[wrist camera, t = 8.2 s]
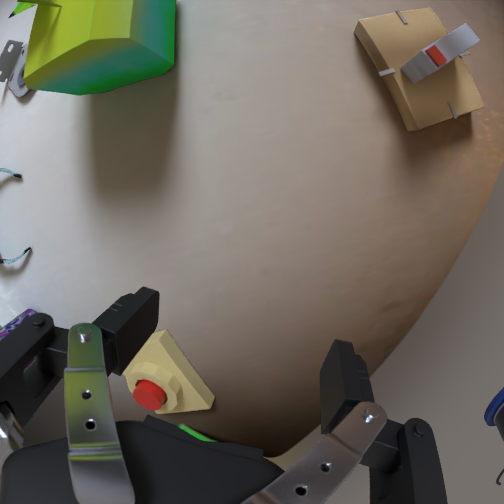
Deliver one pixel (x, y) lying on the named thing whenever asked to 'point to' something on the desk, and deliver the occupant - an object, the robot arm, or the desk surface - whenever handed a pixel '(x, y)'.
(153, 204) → the desk surface
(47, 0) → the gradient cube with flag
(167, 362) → the box
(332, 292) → the desk surface
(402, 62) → the block
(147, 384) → the release button
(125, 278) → the desk surface
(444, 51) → the upright gray plate
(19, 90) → the bracket
